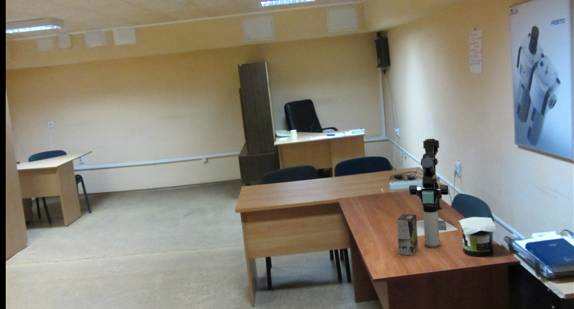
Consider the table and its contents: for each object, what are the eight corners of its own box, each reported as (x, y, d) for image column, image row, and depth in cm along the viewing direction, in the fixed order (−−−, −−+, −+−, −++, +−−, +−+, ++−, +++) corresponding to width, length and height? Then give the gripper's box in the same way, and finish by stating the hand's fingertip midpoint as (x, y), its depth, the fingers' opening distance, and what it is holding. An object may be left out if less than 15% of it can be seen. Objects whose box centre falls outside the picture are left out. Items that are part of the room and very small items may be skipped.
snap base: (428, 224, 236) (428, 220, 235) (445, 224, 234) (444, 220, 233) (429, 230, 228) (428, 226, 228) (446, 230, 226) (446, 226, 226)
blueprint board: (439, 218, 245) (439, 217, 245) (458, 231, 225) (458, 229, 225) (397, 225, 242) (397, 223, 242) (413, 238, 222) (413, 236, 222)
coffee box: (412, 255, 203) (410, 220, 200) (398, 254, 207) (396, 219, 204) (418, 248, 211) (416, 214, 208) (404, 246, 214) (402, 213, 211)
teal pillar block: (424, 213, 234) (423, 190, 232) (434, 213, 232) (433, 190, 230) (423, 217, 229) (422, 193, 227) (434, 217, 227) (433, 193, 225)
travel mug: (422, 243, 215) (419, 202, 211) (436, 241, 215) (433, 200, 212) (427, 248, 209) (425, 206, 205) (441, 246, 209) (439, 204, 206)
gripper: (408, 170, 233) (407, 197, 225) (447, 169, 227) (447, 197, 219) (410, 181, 242) (409, 207, 234) (448, 180, 235) (448, 208, 227)
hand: (428, 205), depth 228 cm, fingers closed on teal pillar block, 5 cm apart
